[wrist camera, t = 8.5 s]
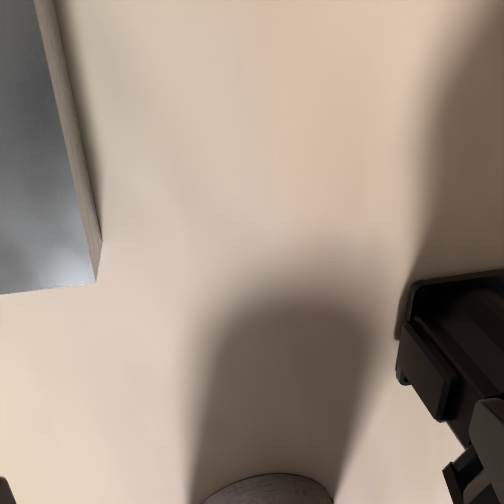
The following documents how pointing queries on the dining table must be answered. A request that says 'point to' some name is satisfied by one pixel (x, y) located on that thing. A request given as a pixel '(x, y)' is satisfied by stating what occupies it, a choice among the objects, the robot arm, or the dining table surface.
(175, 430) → the dining table surface
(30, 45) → the grey slotted plate
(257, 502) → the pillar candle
